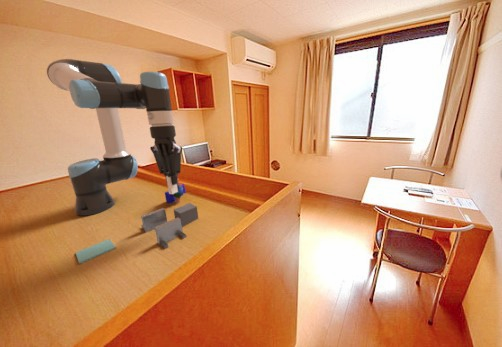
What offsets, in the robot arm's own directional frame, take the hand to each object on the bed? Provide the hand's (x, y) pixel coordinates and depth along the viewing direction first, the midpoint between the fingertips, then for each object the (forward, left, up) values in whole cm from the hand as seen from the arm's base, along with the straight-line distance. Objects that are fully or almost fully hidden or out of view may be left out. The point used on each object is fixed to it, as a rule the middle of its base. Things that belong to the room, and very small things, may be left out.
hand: (173, 192), depth 70 cm
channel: (0, -6, -14) cm, 15 cm away
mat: (-7, -24, -14) cm, 29 cm away
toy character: (-19, +11, -14) cm, 26 cm away
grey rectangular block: (0, +4, -14) cm, 14 cm away
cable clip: (-26, +12, -14) cm, 32 cm away
